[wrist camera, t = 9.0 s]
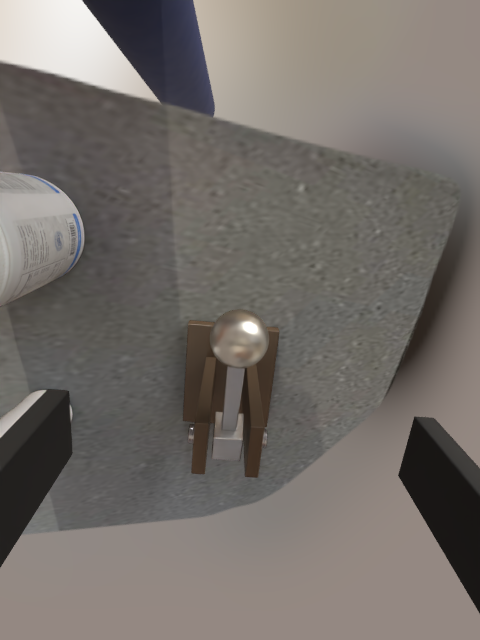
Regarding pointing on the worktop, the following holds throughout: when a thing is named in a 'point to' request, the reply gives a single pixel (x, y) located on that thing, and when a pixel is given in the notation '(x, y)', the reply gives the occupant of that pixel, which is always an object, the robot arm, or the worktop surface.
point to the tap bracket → (209, 391)
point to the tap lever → (235, 374)
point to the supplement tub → (35, 234)
